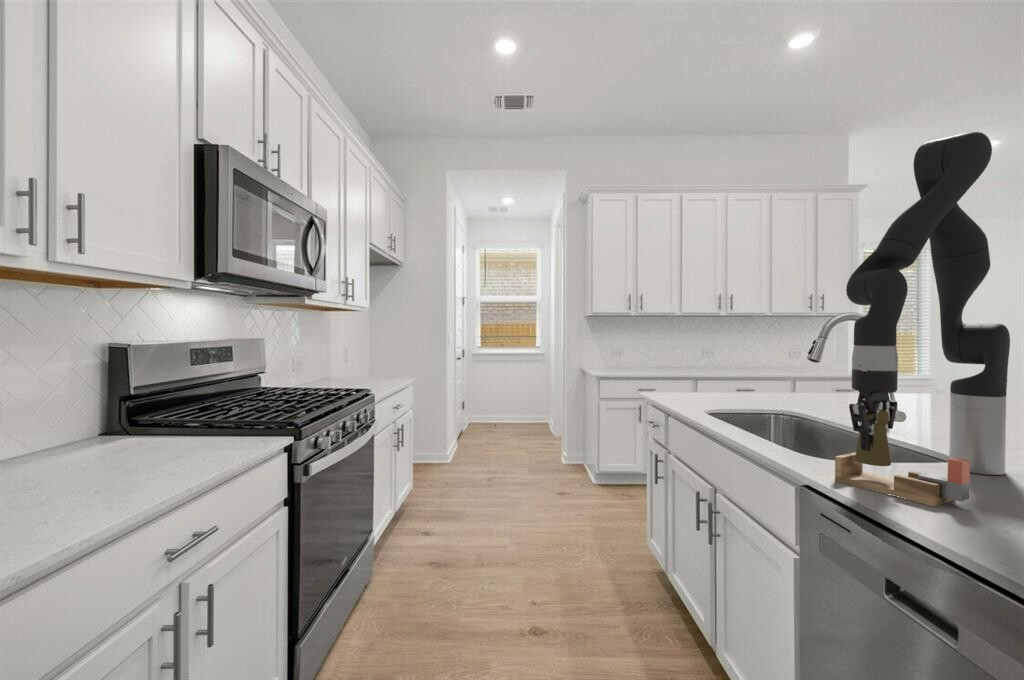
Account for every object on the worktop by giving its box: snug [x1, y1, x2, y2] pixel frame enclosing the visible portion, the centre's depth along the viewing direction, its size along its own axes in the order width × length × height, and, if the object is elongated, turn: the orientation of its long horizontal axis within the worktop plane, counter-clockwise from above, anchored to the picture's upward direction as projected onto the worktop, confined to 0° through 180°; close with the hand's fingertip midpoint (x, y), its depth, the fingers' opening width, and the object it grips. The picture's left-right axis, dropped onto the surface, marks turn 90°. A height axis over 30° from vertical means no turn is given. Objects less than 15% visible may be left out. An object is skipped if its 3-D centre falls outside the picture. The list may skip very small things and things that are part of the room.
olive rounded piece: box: [855, 410, 892, 467], centre depth 100 cm, size 6×6×11 cm
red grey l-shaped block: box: [918, 458, 971, 502], centre depth 90 cm, size 3×6×7 cm, turn 27°
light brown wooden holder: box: [834, 451, 954, 507], centre depth 97 cm, size 8×17×5 cm, turn 27°
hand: (873, 451), depth 100 cm, fingers closed on olive rounded piece, 3 cm apart
